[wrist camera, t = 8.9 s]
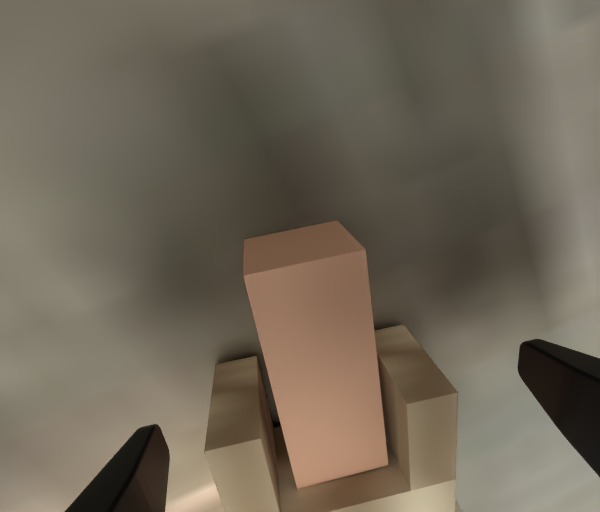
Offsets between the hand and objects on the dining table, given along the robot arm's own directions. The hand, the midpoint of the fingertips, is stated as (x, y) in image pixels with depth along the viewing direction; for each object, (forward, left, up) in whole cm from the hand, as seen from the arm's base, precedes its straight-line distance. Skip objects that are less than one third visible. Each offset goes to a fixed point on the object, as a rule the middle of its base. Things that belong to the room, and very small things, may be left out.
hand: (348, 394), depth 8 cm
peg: (0, -3, -8) cm, 8 cm away
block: (0, -7, -7) cm, 10 cm away
